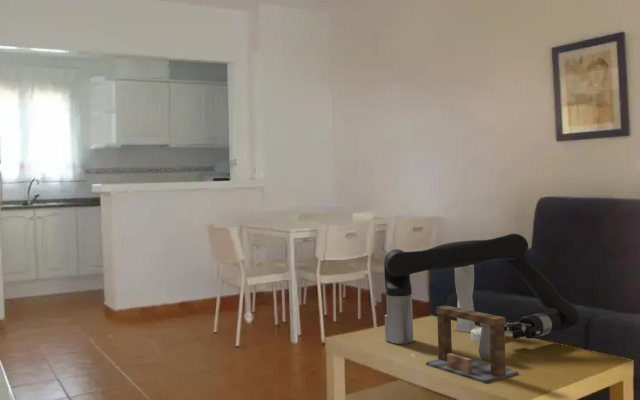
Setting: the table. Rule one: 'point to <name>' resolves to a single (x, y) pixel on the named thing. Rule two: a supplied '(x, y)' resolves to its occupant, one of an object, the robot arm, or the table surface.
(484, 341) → the salt shaker
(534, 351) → the table surface
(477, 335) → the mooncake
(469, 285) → the skyscraper
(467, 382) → the table surface
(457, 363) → the gateway
